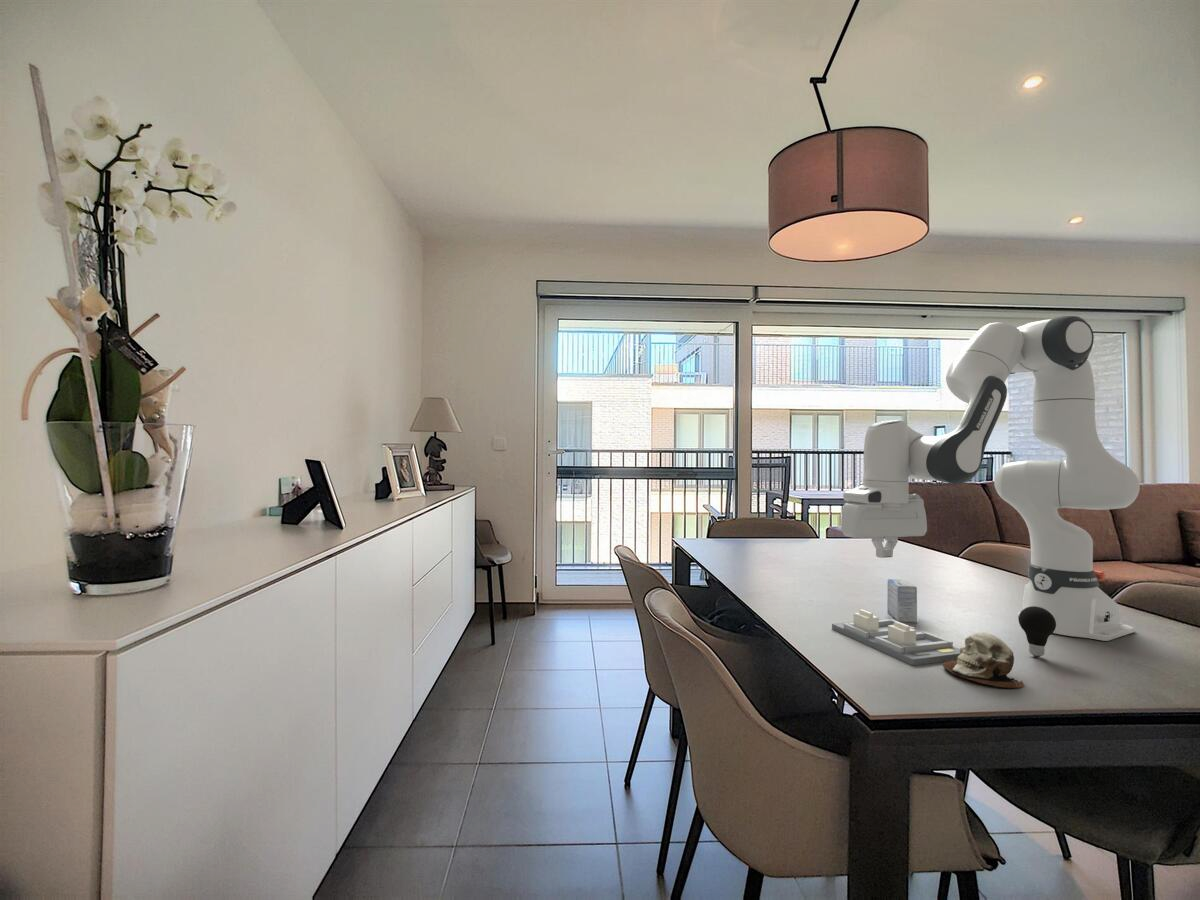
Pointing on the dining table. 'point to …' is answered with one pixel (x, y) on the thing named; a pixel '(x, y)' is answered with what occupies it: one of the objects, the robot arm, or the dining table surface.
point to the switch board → (915, 654)
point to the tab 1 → (865, 621)
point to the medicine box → (902, 600)
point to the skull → (985, 661)
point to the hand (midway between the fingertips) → (884, 557)
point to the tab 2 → (901, 634)
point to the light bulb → (1037, 628)
